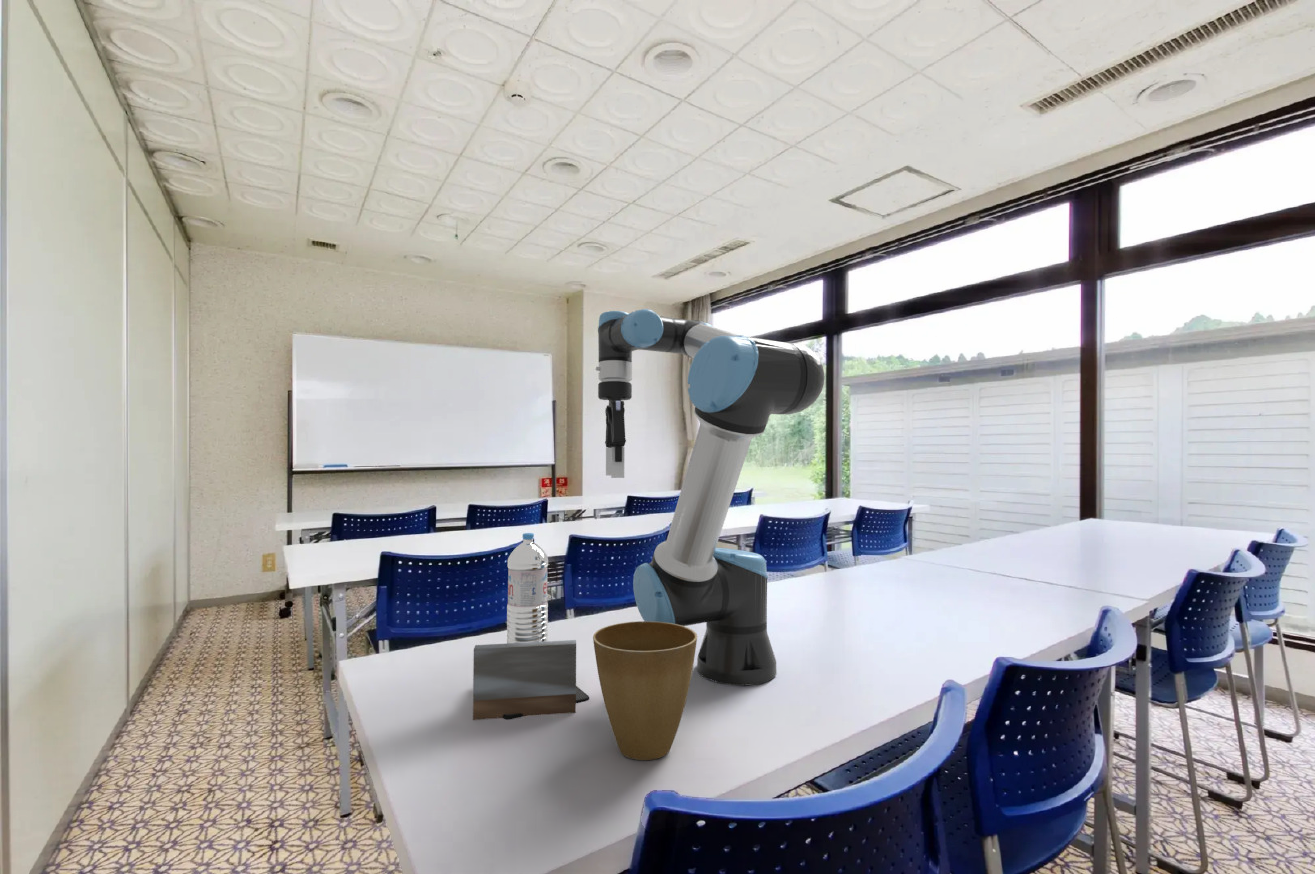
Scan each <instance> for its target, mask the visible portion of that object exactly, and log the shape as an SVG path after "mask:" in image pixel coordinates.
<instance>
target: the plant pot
mask: <svg viewBox="0 0 1315 874" xmlns="http://www.w3.org/2000/svg"><path fill="white" fill-rule="evenodd" d="M592 640H593V641H592V642H593V648H594V656H595V661H596V663H595V664H596V668H597V675H598V681H599V686H600V690H601V694H602V698H603V703H604V707H605V711H606V713H607V718H608V720H609V721H608V722H609V724H610V727H611V730H612V732H613V736H614V739H615V742H616V744H617V747H618V750H619V751H620V753H621V754H622V755H623V756H625V757H627V758H629V759H632V760H637V761H652V760H657V759H661V758H663V757H664V756H666V755H667V754H668V753H670V751H671V749H672V746H673V744H674V741H675V738H676V736H677V732H678V729H679V727H680V723H681V721H682V720H681V719H682V717H683V714H684V713H683V712H684V709H685V706H686V702H687V698H688V695H689V694H688V693H689V690H690V689H689V688H690V684H691V680H692V673H693V669H694V668H693V667H694V662H695V655H696V649H697V641H698V635H697V633H696V632H695V631H694V630H693V629H692V628H689V627H687V626H681V625H677V624H673V623H666V622H654V621H644V620H642V621H638V620H637V621H627V622H619V623H616V624H615V623H614V624H611V625H607V626H604V627H601V628H600V629H598V630H596V631H595V633H594V634H593V636H592Z"/></svg>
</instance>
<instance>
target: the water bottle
mask: <svg viewBox="0 0 1315 874" xmlns="http://www.w3.org/2000/svg"><path fill="white" fill-rule="evenodd" d="M534 540H535V539H534V533H533V532H524V533H523V534H522V542H521V543H520V544H519V545H517V546H516V547H515V548H514V549H513V551H512V552H510V555H509V556H508V557H507V568H508V570H507V571H508V572H507V573H508V575H507V579H508V580H507V606H506V611H507V612H506V626H507V627H506V644H507V643H527V642H546V641H548V639H549V638H548V633H549V631H548V630H549V629H548V628H549V627H548V625H549V624H548V623H549V618H548V617H549V614H548V612H549V610H548V607H549V603H548V566H549V558H548V555H547V553H546V552H545V550H544V549H543V548H542V547H541V546H540V545H538V544H537V543H535V542H534Z"/></svg>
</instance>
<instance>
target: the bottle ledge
mask: <svg viewBox="0 0 1315 874" xmlns="http://www.w3.org/2000/svg"><path fill="white" fill-rule="evenodd" d="M472 666H473V670H472V671H473V675H472V677H473V679H472V680H473V682H472V689H473V691H472V721H477V720H479V721H480V720H491V719H494V720H495V719H504V718H503V715H504V714H519V713H522V714H523V716H525V717H534V716H546V715H559V714H560V715H561V714H563V715H564V714H575V713H576V712H577V703H576V686H577V640H576V639H570V640H568V639H567V640H552V641H551V640H549V641H548V640H547V641H546V642H527V643H507V642H506V643H492V644H490V643H489V644H475V645H474V647H473V665H472Z"/></svg>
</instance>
